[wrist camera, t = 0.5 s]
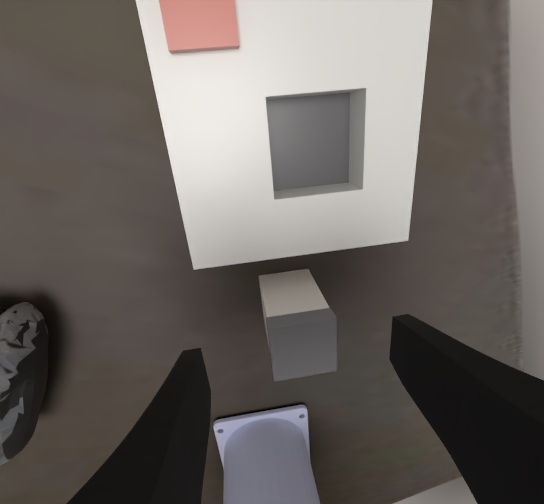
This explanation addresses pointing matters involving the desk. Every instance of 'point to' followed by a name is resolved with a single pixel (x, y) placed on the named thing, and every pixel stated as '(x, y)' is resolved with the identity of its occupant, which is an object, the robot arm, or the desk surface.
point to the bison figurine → (21, 375)
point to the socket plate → (289, 121)
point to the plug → (298, 325)
